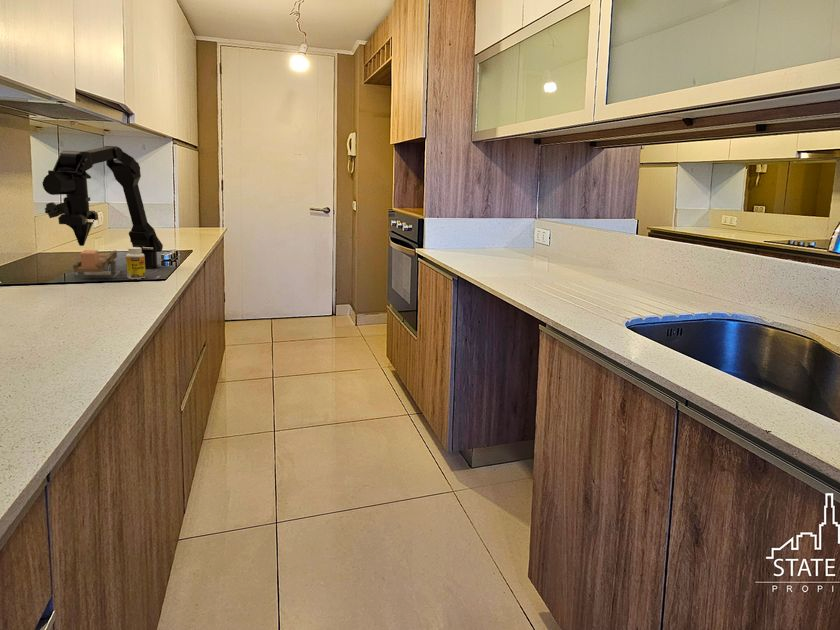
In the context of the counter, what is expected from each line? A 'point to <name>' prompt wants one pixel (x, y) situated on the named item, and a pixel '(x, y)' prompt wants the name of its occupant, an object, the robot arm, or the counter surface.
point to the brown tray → (104, 262)
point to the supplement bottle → (135, 263)
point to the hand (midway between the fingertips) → (81, 245)
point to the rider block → (89, 258)
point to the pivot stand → (99, 273)
